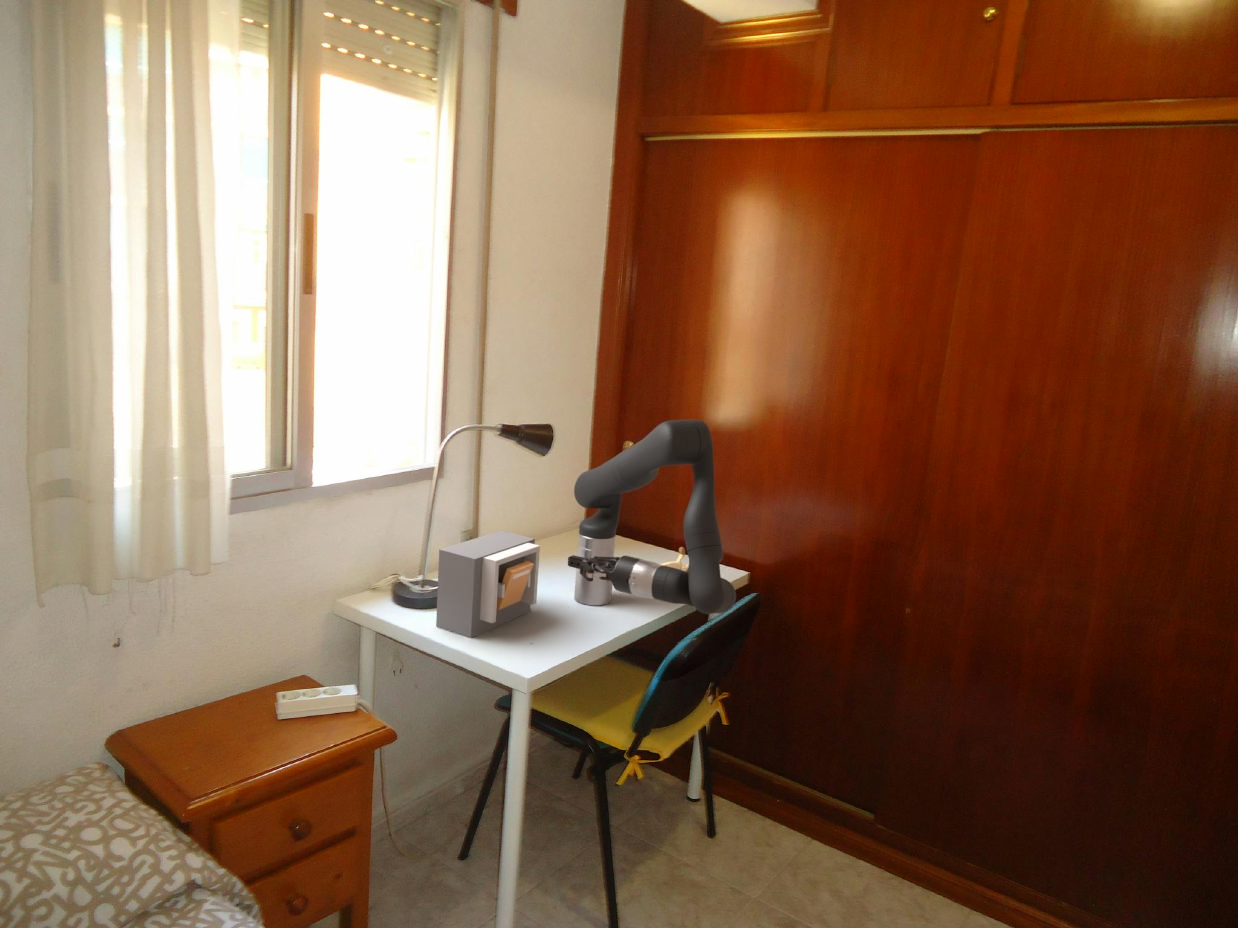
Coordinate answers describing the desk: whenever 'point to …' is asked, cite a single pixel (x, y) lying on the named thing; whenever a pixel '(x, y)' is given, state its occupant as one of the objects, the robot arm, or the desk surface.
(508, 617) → the box
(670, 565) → the cream long blocky figure
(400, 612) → the desk surface
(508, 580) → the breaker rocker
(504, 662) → the desk surface
